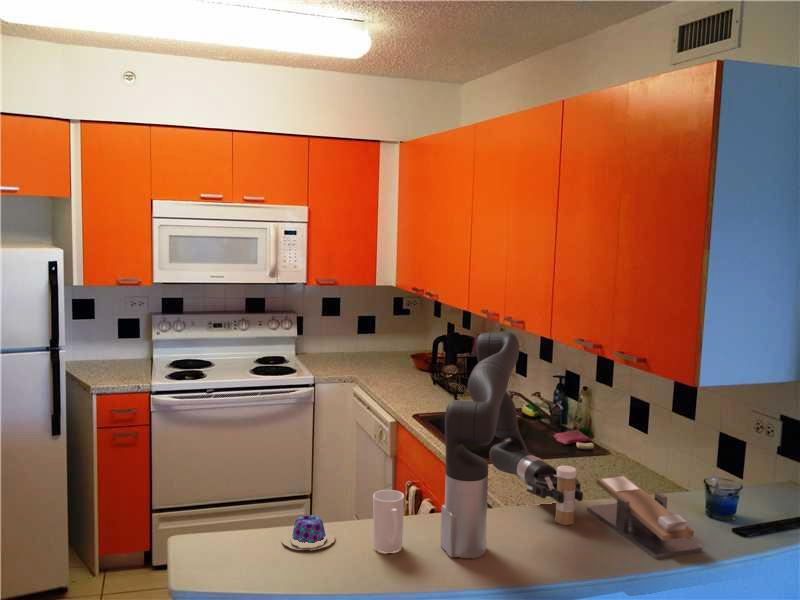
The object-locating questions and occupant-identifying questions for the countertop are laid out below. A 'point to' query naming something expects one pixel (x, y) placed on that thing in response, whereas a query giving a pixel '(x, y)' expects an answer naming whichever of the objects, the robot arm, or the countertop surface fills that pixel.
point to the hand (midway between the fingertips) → (571, 498)
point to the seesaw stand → (642, 529)
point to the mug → (388, 520)
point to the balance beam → (646, 508)
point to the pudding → (308, 529)
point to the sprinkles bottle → (566, 495)
